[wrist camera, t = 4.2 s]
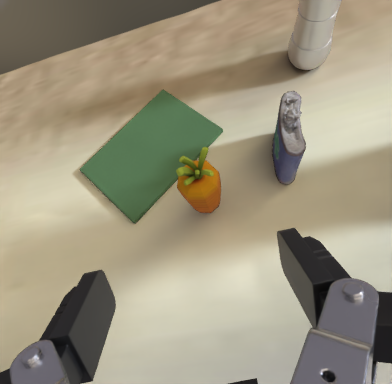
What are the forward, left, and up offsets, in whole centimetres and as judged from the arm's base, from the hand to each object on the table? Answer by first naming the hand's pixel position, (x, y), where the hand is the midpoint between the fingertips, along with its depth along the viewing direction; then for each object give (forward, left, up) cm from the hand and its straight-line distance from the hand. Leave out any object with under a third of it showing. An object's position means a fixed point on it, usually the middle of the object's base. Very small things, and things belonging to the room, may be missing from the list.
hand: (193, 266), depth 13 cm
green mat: (+23, -8, -25) cm, 35 cm away
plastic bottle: (+14, -37, -26) cm, 47 cm away
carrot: (+9, -7, -26) cm, 28 cm away
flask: (+6, -20, -26) cm, 33 cm away
